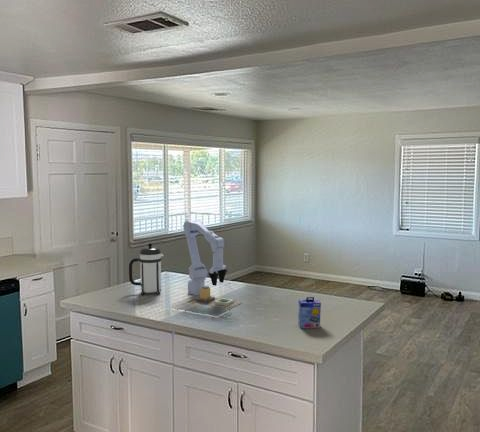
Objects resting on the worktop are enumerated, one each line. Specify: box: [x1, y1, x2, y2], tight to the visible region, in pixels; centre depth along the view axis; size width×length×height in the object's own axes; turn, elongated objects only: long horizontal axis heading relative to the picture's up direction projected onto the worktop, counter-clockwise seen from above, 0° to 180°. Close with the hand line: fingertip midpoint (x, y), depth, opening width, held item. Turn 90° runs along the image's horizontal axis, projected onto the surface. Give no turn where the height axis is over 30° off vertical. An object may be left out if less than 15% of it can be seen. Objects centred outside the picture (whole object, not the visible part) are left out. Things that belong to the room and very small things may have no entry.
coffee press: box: [128, 242, 165, 296], centre depth 284 cm, size 17×16×30 cm
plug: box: [199, 285, 211, 300], centre depth 266 cm, size 4×4×8 cm
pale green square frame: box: [214, 297, 235, 306], centre depth 260 cm, size 8×8×2 cm
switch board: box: [188, 297, 243, 311], centre depth 263 cm, size 26×14×1 cm, turn 61°
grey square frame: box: [196, 295, 216, 303], centre depth 266 cm, size 8×8×2 cm
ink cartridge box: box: [297, 296, 322, 329], centre depth 225 cm, size 10×6×14 cm, turn 95°
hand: (217, 283), depth 266 cm, fingers open, 7 cm apart
